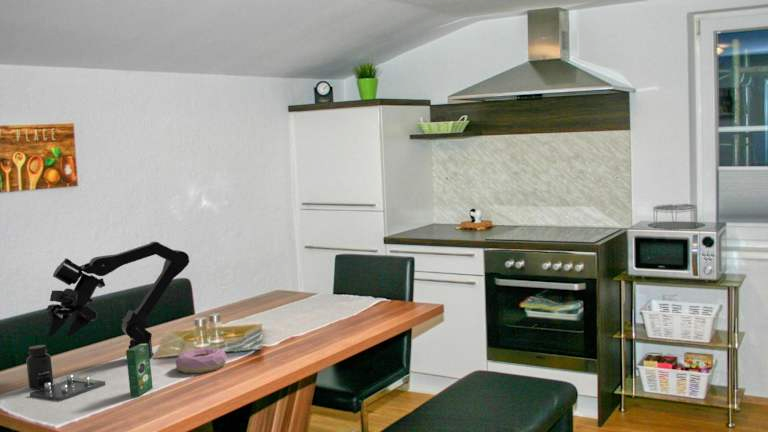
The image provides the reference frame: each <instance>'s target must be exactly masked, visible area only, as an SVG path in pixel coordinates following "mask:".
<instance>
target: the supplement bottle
mask: <svg viewBox="0 0 768 432" xmlns="http://www.w3.org/2000/svg"><path fill="white" fill-rule="evenodd" d="M47 351H48V350H47V345H46V344H38V345H33V346H30V347H28V355H29V356H28V357H27V358H26V360H25V361H26V370H27V371H26V373H27V381H28V382H27V383H28V387H29V389H31V390H39V389H42V388H45V384H44V383H47V382H50V383H51V385H54V374H53V373H54V372H53V365H52V363H53V362H52V357H51V355H50V354H49V353H47Z"/></svg>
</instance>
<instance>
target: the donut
mask: <svg viewBox="0 0 768 432" xmlns="http://www.w3.org/2000/svg"><path fill="white" fill-rule="evenodd" d="M175 359H176V360H175V365H176V366H175V367H176V369H177V370H178V371H180V372H182V373H184V374H203V373H208V372H212V371H215V370H218V369H221V368H222V367H224V365H225V364H226V362H227V359H228V357H227V354H226V352H225V351H224V350H223V349H222V348H219V347H218V348H217V347H201V348H196V349H195V348H194V349H190V350H187V351H184V352H182V353H181V354H179V355H178V356H177V357H176V358H175Z"/></svg>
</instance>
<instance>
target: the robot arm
mask: <svg viewBox="0 0 768 432" xmlns="http://www.w3.org/2000/svg"><path fill="white" fill-rule="evenodd" d="M154 255H156V256H158V257H160V258H162V259H164V260H165V261H164V263H163V267H162V270H161V273H160V274H159V275H158V277H157V278H156V280H155V281H154V283H153V285H152V286H151V287H150V289H149V291H148V292H147V294H146V295H145V296H144V298H143V299H142V301H141V302H140V304H139V305H138V307H137V308H135V310H134V311H132V310H131V309H128V311H127V313H126V315H125V317H124V318H122V319H121V321H122V323H121V330H122V332H123V333H124V334H125V335H126V336H128V337H129V338H130V340H129V345H128V349H130V348H132V347H135V346H137V345H139V344H148V347H149V357H150V360H151V359H152V358H153V357H154V356H155V353H154V352H153V346H152V345H153V344H152V337H153V336H152V335H153V334H152V333H151V332H150V331H148V330H146V326H147V324H148V320H149V317H150V315H151V313H152V311H153V310H154V309H155V308H156V306H157V304H158V302H159V301H160V300H161V298H162V296H163V295H164V294H165V292H166V290H167V289H168V287H169V286H170V284H171V283H172V281H173V280H174V278H176V277H177V276H178V275H179V274H181V273H182V272H183V271H184V270H185V268H187V266H188V265H189V263H190V256H189V255H188V253H186V252H185V251H183V250H180V249H179V250H177V249H172V248H170V247H167V246H166V245H164V244H162V243H161V242H158V241H150V242H149V243H146V244H143V245H141V246H138V247H135V248H132V249H128V250H125V251H122V252H119V253H116V254H109V255H108V254H107V255H102V256H100V255H99V256H95V257H93V258H91V259H90V261H89V262H87V263H85V264H82V265H78V264H76V263H74V262H73V261H71V260H70V259H68V258H64V260H63V261H62V262H61V263H60V264H59V265H58V266H57V267H56V269H55V270H54V272H53V275H52V277H53V278H56V279H57V280H59V281H61V282H62V283H64V284H65V285H68V286H71V285H75V284H76V285H75V286H74V288H65V289H64V290H51V294H50V298H49V301H50V302H56V303H60V304H53V303H52V304H48V306H47V308H46V309H45V312H46V313H47V315H48V316H49V325H48V326H49V327H48V330H47V336H48V337H49V338H51V337H53V336H54V335H55V334H56V333H57V332H58V331H59V329H60V328H62V327H63V326H64V325H65V324H66V323H67V320H68V319H69V317H72V320H71V322H70V324H69V326H68V329H67V331H66V334H65V338H71V337H72V336H73V335H75V334H76V333H77V332H79V331H80V330H82V329H83V328H84V327H86V326H87V325H89V324H90V323H92V322H95V321H96V319H97V317H98V311H96V310H95V309H94V308H92V307H91V306H89V305H88V304H91V303H92V302H93V299H92V296H93V294H94V293H95V291H96V289H97V288H100V289H102V288H103V287H105V286H106V283H105V281H104V278H98V277H104V276H107V275H109V274H110V273H113V272H114V271H115V270H117V269H119V268H120V267H122V266H125V265H128V264H130V263H134V262H136V261H140V260H142V259H147V258H149V257H151V256H154ZM94 275H96V276H97V277H96V276H94ZM60 330H61V329H60Z"/></svg>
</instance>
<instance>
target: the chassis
mask: <svg viewBox="0 0 768 432" xmlns="http://www.w3.org/2000/svg"><path fill="white" fill-rule="evenodd" d="M44 384H45V388H42V389H35V390H33V391H31V392H29V396H30V397H33V398H39V399H46V400H52V401H58V402H62V401H65V400H68V399H70V398H74V397H76V396H79V395H82V394H84V393H87V392H90V391H92V390H96V389H99V388H100V387H104V386H105V385H106V381H103V380H98V379H90V377H89V376H85V377H74V376H73V374H68V375H66V380H63V381H59V382H58V383H53V385H51V383H50V382H47V383H44Z"/></svg>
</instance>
